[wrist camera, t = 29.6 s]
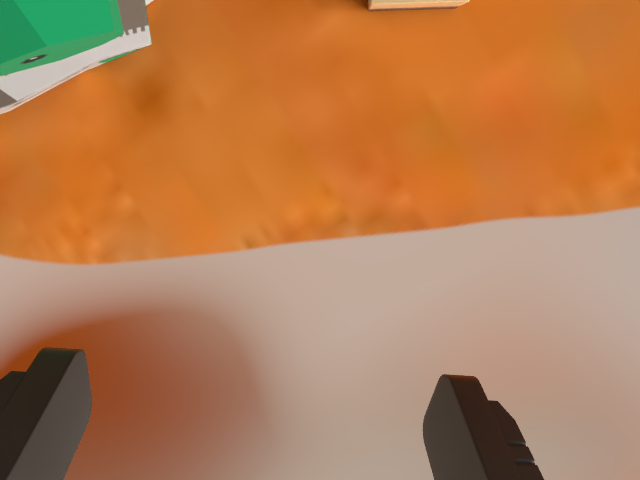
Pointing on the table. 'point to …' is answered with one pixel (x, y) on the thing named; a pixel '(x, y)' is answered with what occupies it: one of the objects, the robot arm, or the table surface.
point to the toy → (63, 41)
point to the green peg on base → (412, 4)
